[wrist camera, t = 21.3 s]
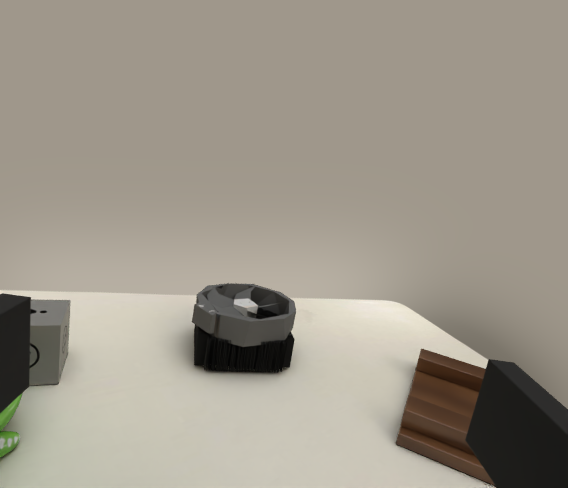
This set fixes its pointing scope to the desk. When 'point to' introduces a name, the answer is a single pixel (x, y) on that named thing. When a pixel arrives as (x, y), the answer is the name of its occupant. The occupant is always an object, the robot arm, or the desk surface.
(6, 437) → the turtle holder
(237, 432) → the desk surface
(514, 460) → the robot arm
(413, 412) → the tape holder
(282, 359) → the cpu cooler
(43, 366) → the dice cube
